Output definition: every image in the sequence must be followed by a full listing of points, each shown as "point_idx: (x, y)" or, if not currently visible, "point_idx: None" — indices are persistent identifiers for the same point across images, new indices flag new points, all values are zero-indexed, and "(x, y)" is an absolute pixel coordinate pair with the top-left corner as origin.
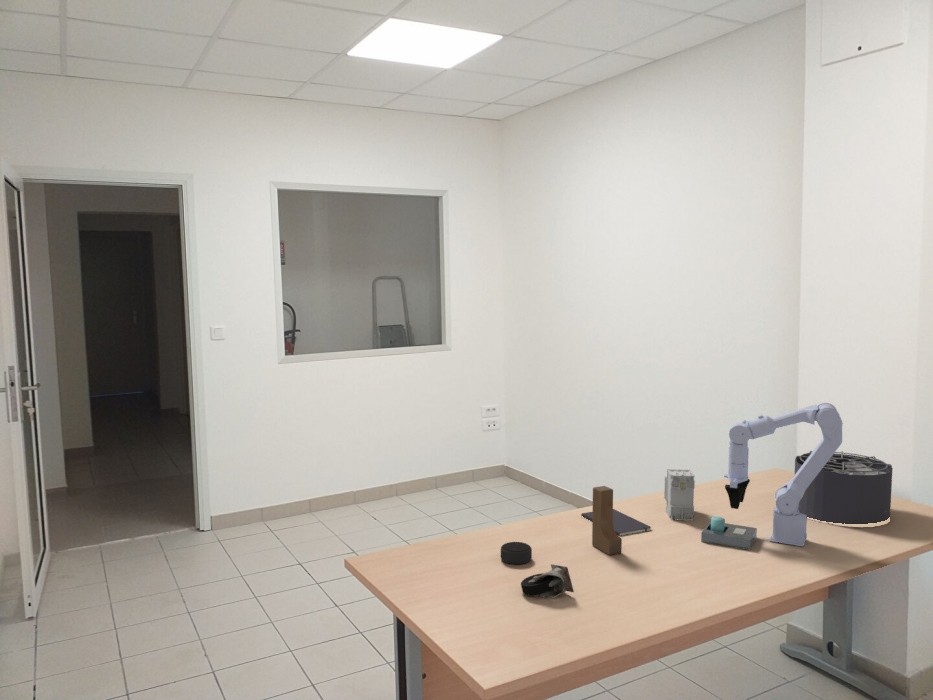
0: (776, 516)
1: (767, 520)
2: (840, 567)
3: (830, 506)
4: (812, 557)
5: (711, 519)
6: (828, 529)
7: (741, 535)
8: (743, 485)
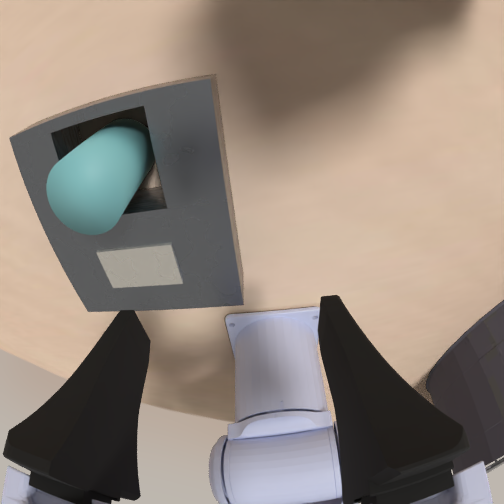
0: (243, 405)
1: (458, 257)
2: (166, 406)
3: (456, 394)
4: (180, 383)
5: (56, 164)
6: (407, 367)
7: (104, 281)
8: (346, 458)
